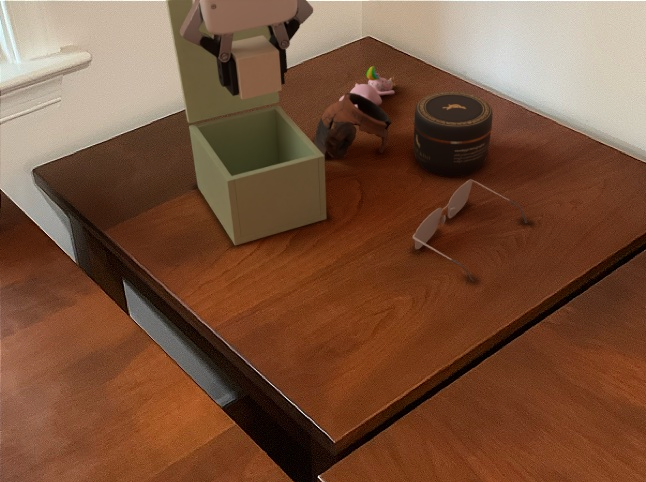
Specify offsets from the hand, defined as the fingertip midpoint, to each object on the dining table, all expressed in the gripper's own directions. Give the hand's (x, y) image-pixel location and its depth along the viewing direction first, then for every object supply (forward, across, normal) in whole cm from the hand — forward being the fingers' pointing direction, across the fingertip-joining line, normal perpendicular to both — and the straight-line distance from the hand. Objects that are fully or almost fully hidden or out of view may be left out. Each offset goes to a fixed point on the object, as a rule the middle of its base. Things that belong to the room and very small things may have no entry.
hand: (254, 83), depth 90 cm
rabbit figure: (+17, -23, -17) cm, 33 cm away
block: (0, 0, 0) cm, 0 cm away
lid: (0, 0, -8) cm, 8 cm away
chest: (+16, 0, -1) cm, 16 cm away
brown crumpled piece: (+17, -15, -7) cm, 23 cm away
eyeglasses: (+17, -19, +17) cm, 30 cm away
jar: (+17, -26, +1) cm, 31 cm away
